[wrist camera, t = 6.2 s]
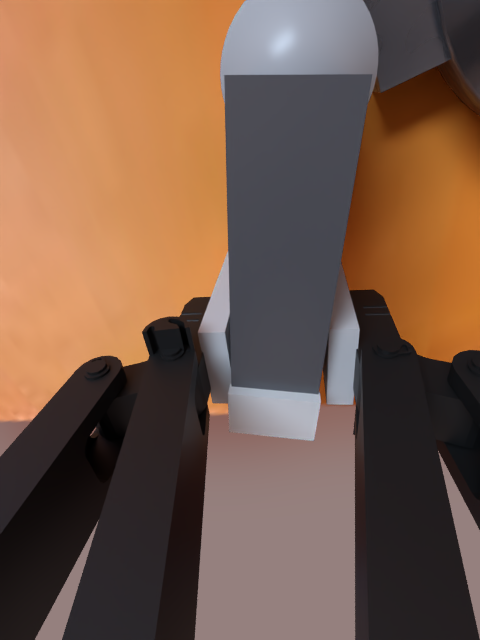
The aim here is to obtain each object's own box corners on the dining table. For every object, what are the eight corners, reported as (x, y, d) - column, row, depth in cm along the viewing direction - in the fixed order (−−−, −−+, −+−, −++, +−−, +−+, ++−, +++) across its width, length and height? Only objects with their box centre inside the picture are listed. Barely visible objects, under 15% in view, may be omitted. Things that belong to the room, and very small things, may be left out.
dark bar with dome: (245, 9, 12) (172, -89, 5) (359, 6, 11) (457, -105, 4) (244, 296, 18) (211, 434, 11) (318, 301, 17) (332, 447, 10)
